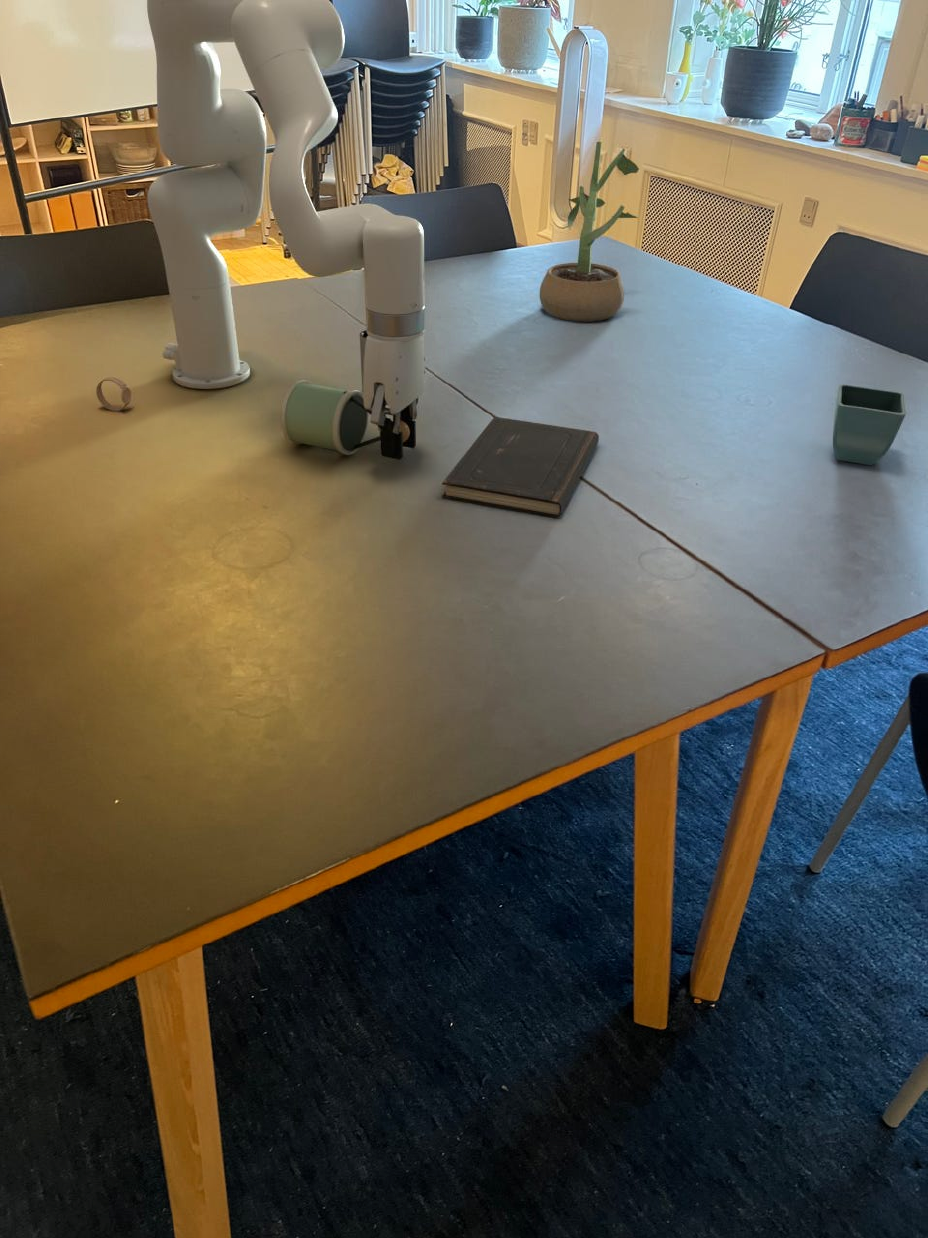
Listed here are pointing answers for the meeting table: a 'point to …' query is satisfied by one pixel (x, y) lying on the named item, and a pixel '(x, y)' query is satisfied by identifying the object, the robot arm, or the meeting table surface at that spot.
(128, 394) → the brown ring
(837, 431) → the flower pot
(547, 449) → the hardcover book
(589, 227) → the potted plant
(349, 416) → the green hollow rimmed cylinder
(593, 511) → the meeting table surface
